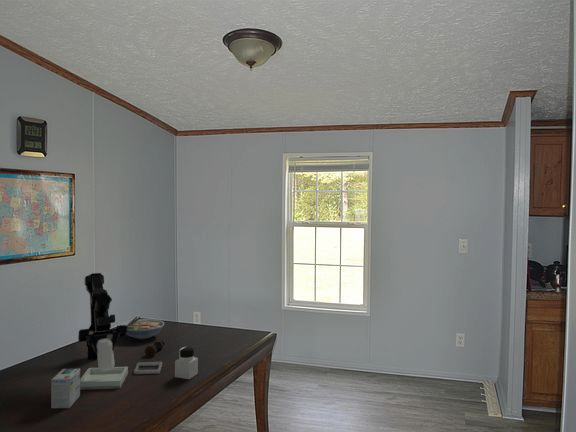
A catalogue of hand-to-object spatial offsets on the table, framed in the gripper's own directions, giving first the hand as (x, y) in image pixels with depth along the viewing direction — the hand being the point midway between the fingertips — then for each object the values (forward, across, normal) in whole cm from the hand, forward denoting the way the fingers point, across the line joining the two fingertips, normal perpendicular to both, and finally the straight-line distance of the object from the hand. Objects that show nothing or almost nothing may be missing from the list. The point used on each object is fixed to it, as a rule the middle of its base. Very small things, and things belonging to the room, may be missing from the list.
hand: (104, 351), depth 190 cm
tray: (+8, 0, +10) cm, 13 cm away
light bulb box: (+19, -15, -1) cm, 24 cm away
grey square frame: (+4, +19, +14) cm, 24 cm away
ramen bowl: (-31, +26, +50) cm, 65 cm away
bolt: (-12, +28, +31) cm, 43 cm away
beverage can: (+5, +1, +6) cm, 8 cm away
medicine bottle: (+14, +32, +4) cm, 35 cm away
